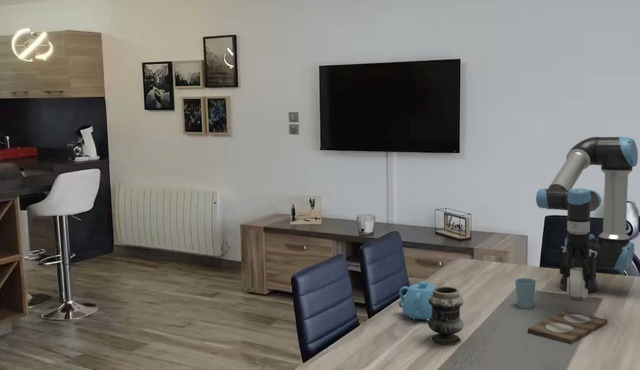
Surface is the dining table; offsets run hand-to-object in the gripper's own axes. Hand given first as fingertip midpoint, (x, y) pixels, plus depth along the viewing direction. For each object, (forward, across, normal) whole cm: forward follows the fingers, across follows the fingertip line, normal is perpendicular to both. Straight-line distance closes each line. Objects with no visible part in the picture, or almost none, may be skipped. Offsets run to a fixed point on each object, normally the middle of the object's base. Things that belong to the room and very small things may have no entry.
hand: (577, 295), depth 238 cm
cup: (+11, -24, +6) cm, 27 cm away
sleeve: (+1, 0, 0) cm, 1 cm away
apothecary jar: (+11, -25, -44) cm, 52 cm away
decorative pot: (+11, -46, -30) cm, 56 cm away
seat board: (+11, 0, -6) cm, 12 cm away
